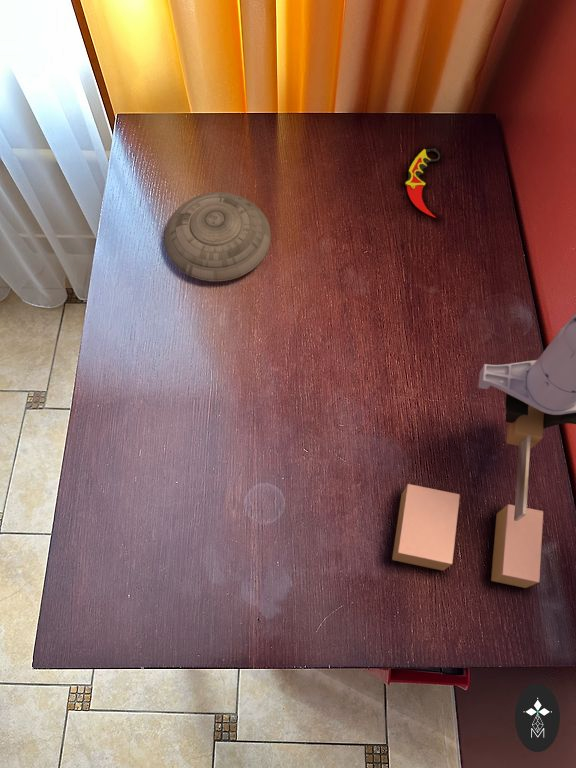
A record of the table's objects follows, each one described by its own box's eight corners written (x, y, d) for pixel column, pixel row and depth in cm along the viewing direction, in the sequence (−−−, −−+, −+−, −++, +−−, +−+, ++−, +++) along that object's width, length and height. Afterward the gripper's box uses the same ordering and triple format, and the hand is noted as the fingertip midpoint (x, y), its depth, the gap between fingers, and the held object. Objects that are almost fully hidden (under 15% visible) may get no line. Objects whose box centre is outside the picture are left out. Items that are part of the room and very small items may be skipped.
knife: (437, 217, 99) (403, 212, 99) (436, 218, 100) (402, 213, 100) (441, 148, 104) (409, 143, 105) (440, 150, 105) (408, 145, 105)
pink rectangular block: (451, 504, 82) (460, 494, 78) (443, 570, 79) (452, 564, 75) (401, 494, 83) (407, 483, 79) (391, 560, 79) (398, 552, 75)
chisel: (509, 396, 82) (518, 384, 78) (534, 401, 81) (545, 389, 78) (500, 519, 75) (510, 511, 72) (527, 524, 75) (538, 517, 72)
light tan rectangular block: (530, 520, 82) (543, 511, 77) (525, 588, 78) (539, 582, 74) (496, 513, 82) (507, 503, 78) (490, 580, 79) (502, 574, 74)
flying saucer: (143, 253, 97) (136, 229, 92) (207, 184, 102) (203, 157, 97) (230, 305, 93) (227, 283, 88) (291, 230, 99) (292, 205, 94)
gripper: (646, 343, 68) (589, 397, 80) (498, 317, 69) (465, 375, 81) (647, 408, 65) (588, 454, 77) (493, 380, 66) (459, 430, 78)
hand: (525, 417), depth 79 cm, fingers closed on chisel, 3 cm apart
